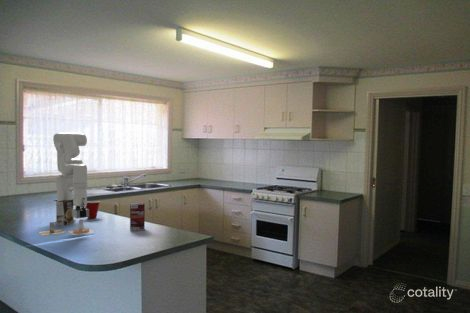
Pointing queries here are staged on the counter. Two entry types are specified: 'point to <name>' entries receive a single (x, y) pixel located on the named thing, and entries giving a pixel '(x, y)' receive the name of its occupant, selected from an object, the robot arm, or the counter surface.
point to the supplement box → (137, 216)
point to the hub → (81, 230)
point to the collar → (77, 213)
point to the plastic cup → (92, 208)
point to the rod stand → (52, 230)
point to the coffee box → (64, 212)
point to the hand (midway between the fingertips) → (80, 216)
